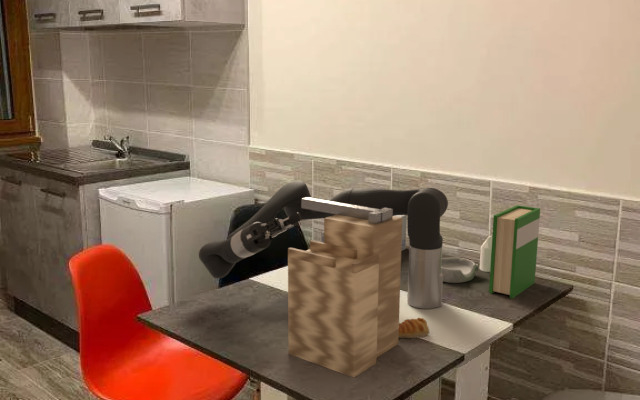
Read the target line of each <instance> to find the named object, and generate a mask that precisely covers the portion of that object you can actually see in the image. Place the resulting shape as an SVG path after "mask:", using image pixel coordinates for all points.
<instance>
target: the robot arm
mask: <svg viewBox="0 0 640 400" xmlns="http://www.w3.org/2000/svg"><path fill="white" fill-rule="evenodd" d="M306 197H310V198H312V196H311V193H310V190H309V188H308V185H307V184H306V182H305V181H303V180H300V179H299V180H298V179H295V180H291V181H289V182H287V183H286V184H284V185H283V186H282V187H280V188H279V189H278V190H277V191H276V192H275V193H274V194H273V195H272V197H270V198H269V199H268V201H267V202H265V203H264V205H263V206H262V207H261V208H260V209H259V210H258V211H257V212H256V213H254V215H252V217H251V218H250V219H248V220H247V221H246V222H244V223H242V225H240V226H239V227H238V228H237V229H235V230H234V231H232V232H231V233H230V234H229V235H227V237H226V239H224V240H217V241H211V242H208V243H205V244H204V245H203V246H202V247H201V248H200V249H199V251H198V258H199V260H200V262H201V263H202V264H203V266H204V267H205V268H206V269H207V271H208V272H209V274H210V275H211V276H212V277H213V278H214V279H222V278H225V277H226V276H227V275H229V273H230V272H231V271H232V269H233V268H234V267H235V265H236V263H239V262H241V261H242V260H244V259H246V258H248V257H251V256H254V255H255V254H257V253H259V252H261V251H263V250H265V249H267V248H268V247H270V245H271V242H272V238H275V237H277V236H278V235H280V234H282V233H284V232H286V231H287V230H290V229H291V228H293V227H296V226H297V223H299V222H300V221H306V220H319V219H324V218H326V217H330V216H333V215H336V214H331V213H326V212H320V211H315V210H310V209H304V208H301V199H302V198H306ZM327 200H328V201H334V202H339V203H345V204H351V205H357V206H363V207H369V208H375V209H383V208H390V209H393V216H396V215H407V222H406V231H407V237H408V239H409V241H408V243H409V244H408V247H409V248H408V273H407V293H406V294H407V304H408V305H409V306H411V307H413V308H416V309H417V308H418V309H434V308H437V307H442V306H443V284H444V282H443V274H442V272H441V265H442V258H443V242H444V240H443V236H442V234H441V232H440V231H441V217H443V215H444V214H445V213H446V211H447V210H448V205H449V203H448V202H449V201H448V200H449V199H448V198H447V196H446V195H445V193H444V192H443V191H442V190H440V189H437V188H435V187H424V188H417V189H416V188H415V189H401V190H400V189H387V188H373V187H372V188H371V187H349V188H346V189H344V190H342V191H340V192H339V193H338V194H336V195H335V196H333V197H331V198H329V199H327ZM282 209H283V210H284V212H285V214H286V216H287V217H286V218H284V219H282V218H277V217H276V216H277V214H279V213H280V212H281V210H282ZM275 217H276V218H275Z"/></svg>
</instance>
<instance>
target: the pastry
mask: <svg viewBox="0 0 640 400" xmlns="http://www.w3.org/2000/svg"><path fill="white" fill-rule="evenodd" d="M429 334H430V329H429V326H428V323H427V321H426V319H424V318H423V317H422V318H421V317H418V318H411V319H410V318H409V319H408V318H407V319H405V320H404V321H402V322H399V339H417V338H424V337H427V336H429ZM416 337H417V338H416Z"/></svg>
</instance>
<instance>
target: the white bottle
mask: <svg viewBox="0 0 640 400" xmlns="http://www.w3.org/2000/svg"><path fill="white" fill-rule="evenodd" d="M491 250H492V235H490V236H488V237H487V238H486V240H485V241H484V242H483V243H482V244H481V246H480V258H479V270H480V271H482V272H484V273H485V272H486V273H490V266H491Z"/></svg>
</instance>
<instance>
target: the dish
mask: <svg viewBox="0 0 640 400" xmlns="http://www.w3.org/2000/svg"><path fill="white" fill-rule="evenodd" d="M479 269H480V264H478V263H475V262H474V261H473V260H470V259H468V258H465V257H464V258H463V257H462V258H461V257H442V265H441V272H442V274H443V283H444V282H445V283H450V284H451V283H453V284H458V283H459V284H460V283H466V282H470V281H472V280H473V279H474V278H475V275H476V272H477V271H479Z"/></svg>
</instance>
